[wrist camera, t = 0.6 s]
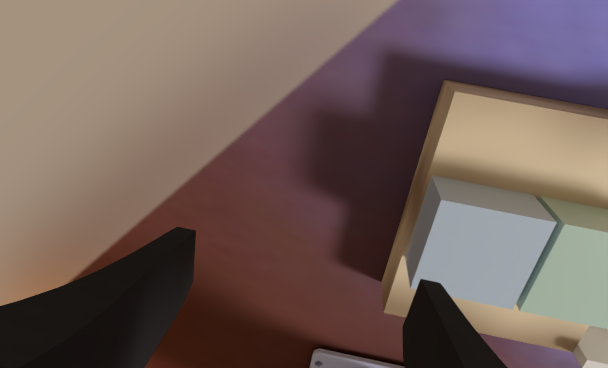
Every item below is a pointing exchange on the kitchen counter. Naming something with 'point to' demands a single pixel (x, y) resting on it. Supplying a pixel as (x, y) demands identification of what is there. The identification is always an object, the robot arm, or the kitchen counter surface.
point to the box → (593, 348)
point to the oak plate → (505, 183)
